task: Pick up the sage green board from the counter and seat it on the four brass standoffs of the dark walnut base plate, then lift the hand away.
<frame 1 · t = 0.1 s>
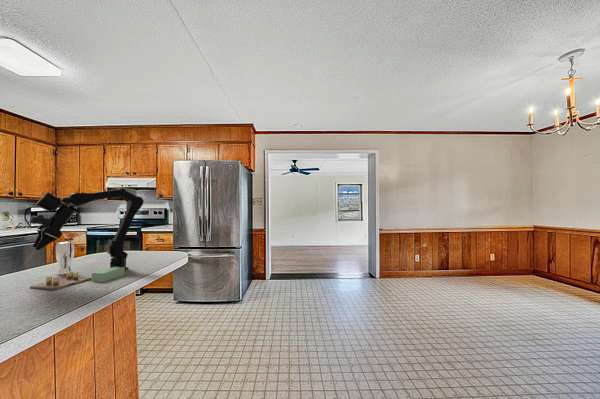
hand: (35, 248, 119), 15 cm above the countertop, tool tilted 35°, fingers open, 9 cm apart
beer glass: (64, 273, 135), on the countertop
green board: (108, 278, 128), on the countertop
walnut base plate: (62, 283, 119), on the countertop
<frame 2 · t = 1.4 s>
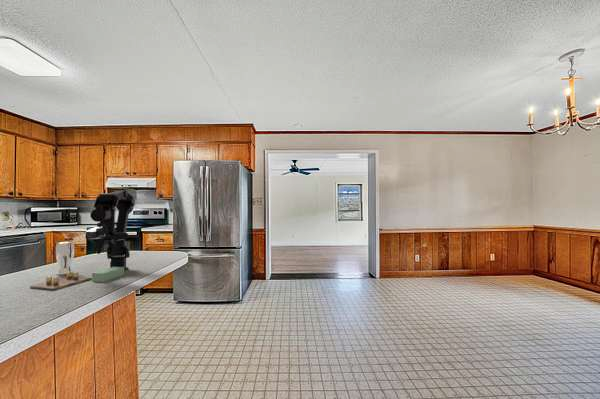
hand: (106, 254, 127), 11 cm above the countertop, tool pointing down, fingers open, 9 cm apart
nothing on the countertop moved.
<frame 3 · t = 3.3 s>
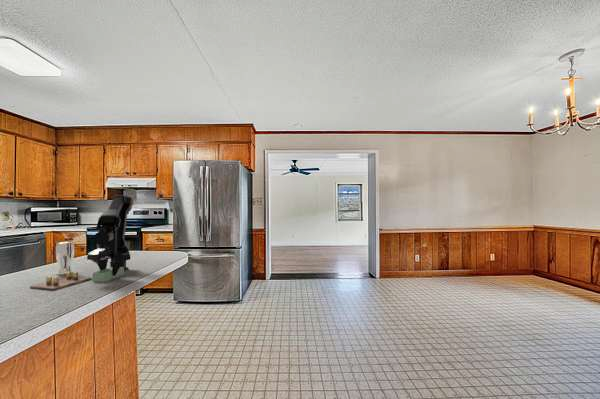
hand: (108, 275, 128), 1 cm above the countertop, tool pointing down, fingers closed on green board, 6 cm apart
green board: (108, 278, 128), on the countertop, touching gripper
everything else where it was.
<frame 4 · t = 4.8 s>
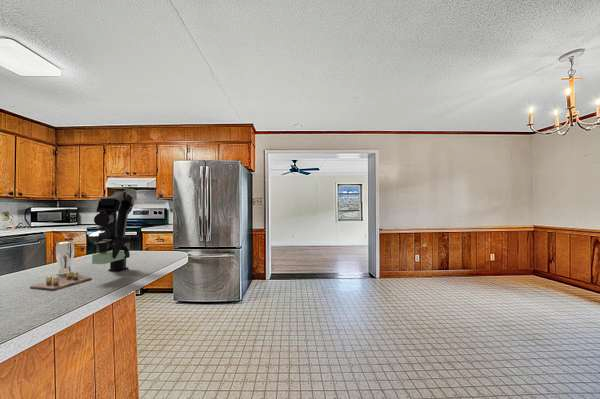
hand: (108, 258, 128), 9 cm above the countertop, tool pointing down, fingers closed on green board, 6 cm apart
green board: (108, 261, 128), point 8 cm above the countertop, touching gripper
everything else where it was.
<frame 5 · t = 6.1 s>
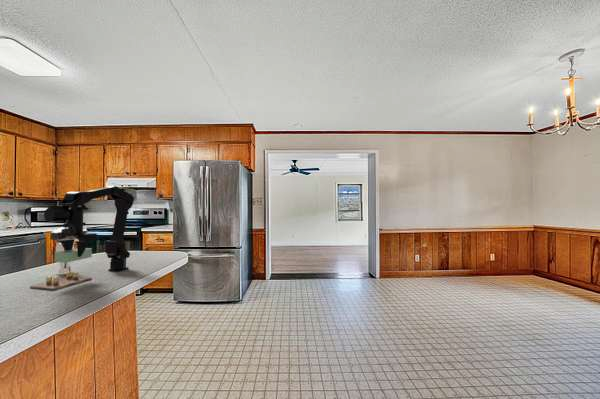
hand: (74, 256, 121), 11 cm above the countertop, tool pointing down, fingers closed on green board, 6 cm apart
green board: (73, 259, 120), point 10 cm above the countertop, touching gripper
everything else where it was.
when the fingers open (6 cm above the countertop, at t = 8.3 s): green board drops 1 cm, resting on walnut base plate.
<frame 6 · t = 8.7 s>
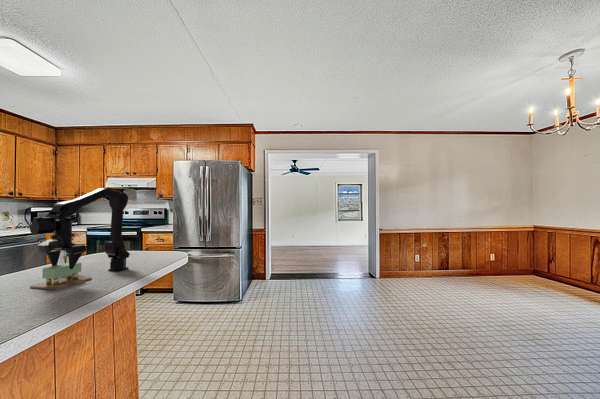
hand: (62, 268, 119), 6 cm above the countertop, tool pointing down, fingers open, 9 cm apart
green board: (62, 274, 119), point 4 cm above the countertop, touching walnut base plate
everything else where it was.
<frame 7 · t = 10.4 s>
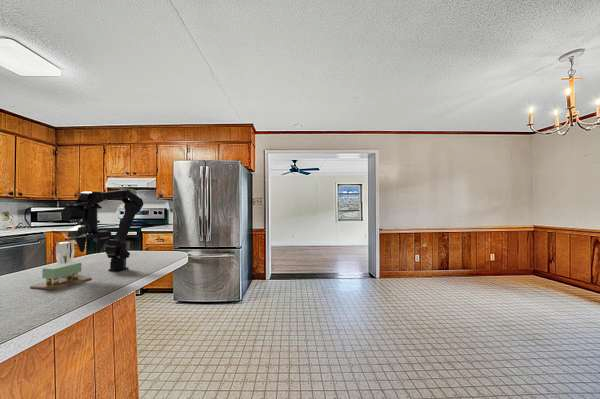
hand: (89, 252, 128), 12 cm above the countertop, tool pointing down, fingers open, 9 cm apart
nothing on the countertop moved.
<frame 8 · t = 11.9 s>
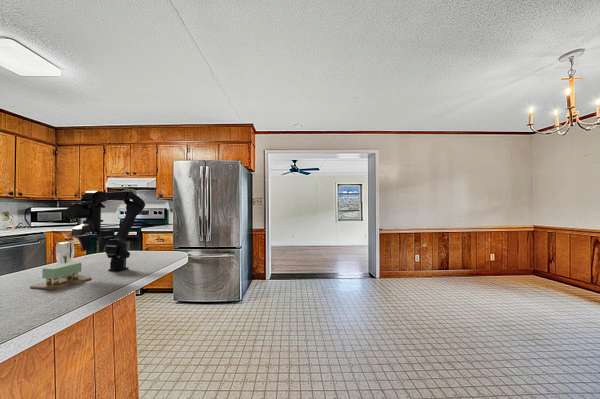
hand: (92, 251, 129), 12 cm above the countertop, tool pointing down, fingers open, 9 cm apart
nothing on the countertop moved.
at the end: green board 0.0 cm off-centre on the walnut base plate, point 3.8 cm above the walnut base plate's base; green board tilted 0°; the gripper is holding nothing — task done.
